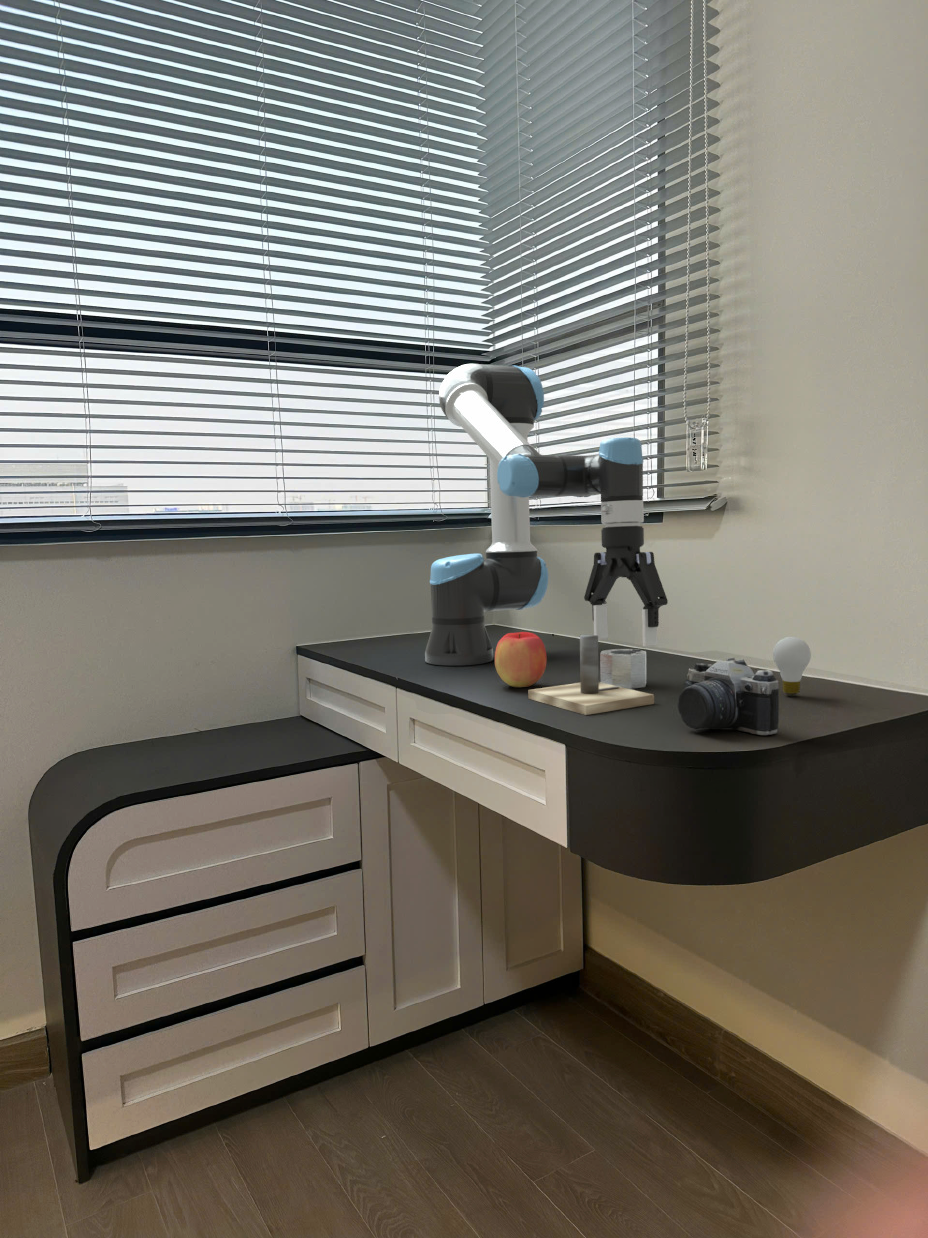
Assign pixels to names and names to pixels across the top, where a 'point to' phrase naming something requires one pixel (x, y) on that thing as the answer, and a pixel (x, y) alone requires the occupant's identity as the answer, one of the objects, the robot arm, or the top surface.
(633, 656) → the hub
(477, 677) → the top surface
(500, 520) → the robot arm
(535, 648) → the apple
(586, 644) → the shaft stand
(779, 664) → the light bulb
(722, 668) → the camera
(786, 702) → the top surface
